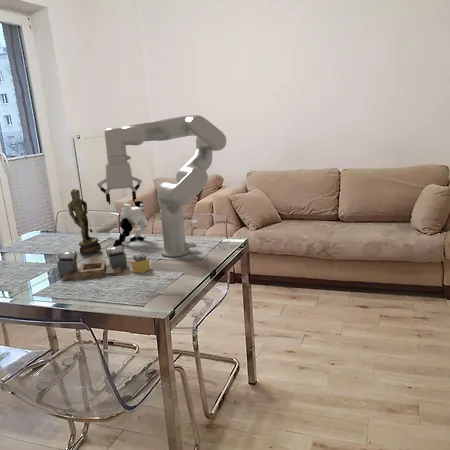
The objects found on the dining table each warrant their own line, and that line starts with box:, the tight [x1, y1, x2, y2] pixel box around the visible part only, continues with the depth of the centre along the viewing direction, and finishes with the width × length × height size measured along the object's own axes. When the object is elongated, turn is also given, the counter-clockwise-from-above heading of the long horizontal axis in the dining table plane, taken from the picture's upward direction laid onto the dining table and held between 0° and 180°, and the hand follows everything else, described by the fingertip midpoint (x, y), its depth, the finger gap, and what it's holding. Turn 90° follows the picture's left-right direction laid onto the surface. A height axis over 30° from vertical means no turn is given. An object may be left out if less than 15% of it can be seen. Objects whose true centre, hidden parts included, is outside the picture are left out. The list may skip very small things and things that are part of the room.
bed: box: [62, 260, 122, 282], centre depth 188 cm, size 22×11×3 cm, turn 100°
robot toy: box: [112, 200, 150, 248], centre depth 227 cm, size 19×14×20 cm
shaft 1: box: [56, 250, 79, 277], centre depth 189 cm, size 7×4×9 cm, turn 85°
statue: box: [67, 188, 102, 255], centre depth 213 cm, size 11×11×30 cm
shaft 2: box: [105, 245, 128, 270], centre depth 191 cm, size 7×4×9 cm, turn 115°
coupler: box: [131, 253, 151, 274], centre depth 188 cm, size 5×5×6 cm
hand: (121, 202), depth 190 cm, fingers open, 9 cm apart
